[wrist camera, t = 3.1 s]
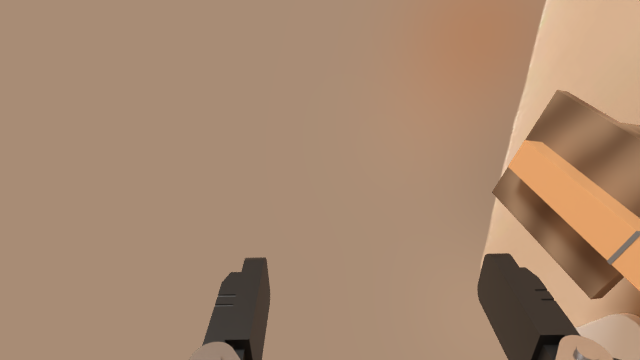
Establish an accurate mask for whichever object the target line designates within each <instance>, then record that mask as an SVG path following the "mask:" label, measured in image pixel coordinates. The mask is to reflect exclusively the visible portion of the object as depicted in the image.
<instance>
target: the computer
mask: <svg viewBox="0 0 640 360" xmlns="http://www.w3.org/2000/svg"><path fill="white" fill-rule="evenodd" d="M576 330H577V331H578V333H579V334H580V335H581V336H583V337H586V338H589V339H591V340H593V341H595V342H596V343H598V344H599V345H601V346H602V347H603V348H605V349H606V350H607V351H608V352H609V354H610V355H611V356H612V357H613V358H616V359H620V360H640V317H638V316H636V315H633V314H629V313H620V314H612V315H609V316H606V317H603V318H601V319H598V320H595V321H593V322H590V323H587V324H585V325H582V326H579V327H577V328H576Z"/></svg>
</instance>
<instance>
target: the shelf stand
mask: <svg viewBox="0 0 640 360" xmlns="http://www.w3.org/2000/svg"><path fill="white" fill-rule="evenodd" d="M526 140H528V141H537V142H543V143H544V144H545V145H546V146H548V147H549V148H550V149H552V150H553V151H554V152H555V153H557V154H558V155H559V156H561V157H562V158H563V159H564V160H566V161H567V162H568V163H570V164H571V165H572V166H573V167H575V168H576V169H577V170H578V171H580V172H581V173H582V174H584V175H585V176H586V177H587V178H589V179H590V180H591V181H593V182H594V183H595V184H596V185H598V186H599V187H600V188H602V189H603V190H604V191H605V192H607V193H608V194H609V195H610V196H612V197H613V198H614V199H616V200H617V201H618V202H619V203H621V204H622V205H623V206H625V207H626V208H627V209H628V210H630V211H631V212H632V213H634V214H635V215H636V216H637V217H639V218H640V125H633V124H626V123H620V122H618V121H616V120H615V119H613V118H611V117H610V116H608V115H606V114H604V113H603V112H601V111H599V110H598V109H596V108H594V107H593V106H591V105H589V104H587V103H586V102H584V101H582V100H581V99H579V98H577V97H576V96H574V95H572V94H570V93H569V92H566V91H561V90H557V91H556V93H555V94H554V96H553V97H552V99H551V100H550V102H549V104H548V105H547V107H546V108H545V110H544V111H543V113H542V115H541V116H540V118H539V119H538V121H537V122H536V124H535V126H534V127H533V129H532V130H531V132H530V133H529V135H528V137H527V138H526ZM492 193H493V194H494V195H495V196H496V197H497V198H498V199H499V200H500V202H501V203H502V204H503V205H504V206H505V207H506V208H507V209H508V210H509V211H510V212H511V213H512V214H513V216H514V217H515V218H516V219H517V220H518V221H519V222H520V223H521V224H522V225H523V226H524V227H525V229H526V230H527V231H528V232H529V233H530V234H531V235H532V236H533V237H534V238H535V239H536V240H537V241H538V243H539V244H540V245H541V246H542V247H543V248H544V249H545V250H546V251H547V252H548V253H549V254H550V256H551V257H552V258H553V259H554V260H555V261H556V262H557V263H558V264H559V265H560V266H561V267H562V268H563V270H564V271H565V272H566V273H567V274H568V275H569V276H570V277H571V278H572V279H573V280H574V281H575V283H576V284H577V285H578V286H579V287H580V288H581V289H582V290H583V291H584V292H585V293H586V294H587V295H588V297H589V298H590V299H597V298H602V297H603V296H604V295H606V294H607V293H608V292H609V291H610V290H611V289H612V288H613V287H614V286H615V285H616V284H617V283H618V282H619V281H620V280H621V279H622V278H623V277H624V276H623V275H622V274H621V273H620V272H619V271H618V270H617V269H616V268H615V267H613V266H612V265H610V264H609V263H608V262H607V260H606V259H605V258H604V257H603V256H602V255H601V254H600V253H599V252H598V251H597V250H595V249H594V248H593V247H592V246H591V245H590V244H589V243H588V242H587V241H586V240H585V239H584V238H583V237H582V236H581V235H580V234H579V233H578V232H576V231H575V230H574V229H573V228H572V227H571V226H570V225H569V224H568V223H567V222H566V221H565V220H564V219H563V218H562V217H561V216H560V215H558V214H557V213H556V212H555V211H554V210H553V209H552V208H551V207H550V206H549V205H548V204H547V203H546V202H545V201H544V200H543V199H542V198H541V197H539V196H538V195H537V194H536V193H535V192H534V191H533V190H532V189H531V188H530V187H529V186H528V185H527V184H526V183H525V182H524V181H523V180H522V179H520V178H519V177H518V176H517V175H516V174H515V173H514V172H513V171H512V170H511V169H510V168H509V167H508V168H507V169H506V171H505V173H504V174H503V176H502V177H501V179H500V180H499V182H498V184H497V185H496V187H495V188H494V190H493V192H492Z"/></svg>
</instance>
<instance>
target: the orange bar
mask: <svg viewBox="0 0 640 360" xmlns="http://www.w3.org/2000/svg"><path fill="white" fill-rule="evenodd" d="M508 167H509V168H510V169H511V170H512V171H513V172H514V173H515V174H516V175H517V176H518V177H519V178H520V179H522V180H523V181H524V182H525V183H526V184H527V185H528V186H529V187H530V188H531V189H532V190H533V191H534V192H535V193H536V194H537V195H538V196H539V197H541V198H542V199H543V200H544V201H545V202H546V203H547V204H548V205H549V206H550V207H551V208H552V209H553V210H554V211H555V212H556V213H557V214H558V215H560V216H561V217H562V218H563V219H564V220H565V221H566V222H567V223H568V224H569V225H570V226H571V227H572V228H573V229H574V230H575V231H576V232H578V233H579V234H580V235H581V236H582V237H583V238H584V239H585V240H586V241H587V242H588V243H589V244H590V245H591V246H592V247H593V248H594V249H595V250H597V251H598V252H599V253H600V254H601V255H602V256H603V257H604V258H605V259H606V260H607V262H608V263H609V264H610V265H612V266H613V267H615V268H616V269H617V270H618V271H619V272H620V273H621V274H622V275H623V276H624V277H625V278H626V279H627V280H628V281H629V282H630V283H631V284H632V285H634V286H635V287H636V288H637V289H638V290H639V291H640V218H639V217H637V216H636V215H635V214H634V213H632V212H631V211H630V210H628V209H627V208H626V207H625V206H623V205H622V204H621V203H619V202H618V201H617V200H616V199H614V198H613V197H612V196H610V195H609V194H608V193H607V192H605V191H604V190H603V189H602V188H600V187H599V186H598V185H596V184H595V183H594V182H593V181H591V180H590V179H589V178H587V177H586V176H585V175H584V174H582V173H581V172H580V171H578V170H577V169H576V168H575V167H573V166H572V165H571V164H570V163H568V162H567V161H566V160H564V159H563V158H562V157H561V156H559V155H558V154H557V153H555V152H554V151H553V150H552V149H550V148H549V147H548V146H546V145H545V144H544V143H543V142H537V141H528V140H525V141H524V142H523V144H522V145H521V147H520V148H519V150H518V152H517V153H516V155H515V156H514V158H513V159H512V161H511V162H510V164H509V166H508Z"/></svg>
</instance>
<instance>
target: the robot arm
mask: <svg viewBox="0 0 640 360" xmlns="http://www.w3.org/2000/svg"><path fill="white" fill-rule="evenodd" d="M478 297H479V301H480V303H481V305H482V307H483V309H484V311H485V313H486V315H487V317H488V319H489V321H490V324H491V325H492V328H493V329H494V332H495V334H496V336H497V338H498V340H499V342H500V344H501V346H502V348H503V350H504V352H505V354H506V356H507V358H508V360H620V359H616V358H613V357H612V356H611V355H610V354H609V352H608V351H607V350H606V349H605V348H603V347H602V346H601V345H599V344H598V343H596V342H595V341H593V340H591V339H589V338H586V337H583V336H581V335H580V334H579V333H578V331H577V330H576V328H575V327H574V326H573V324H572V323H571V322H570V320H569V319H568V317H567V316H566V315H565V313H564V312H563V311H562V309H561V308H560V306H559V305H558V304H557V302H556V301H554V298H553V297H552V295H551V294H550V293H549V291H547V289H546V287H545V286H544V284H543V283H542V282H541V280H540V279H539V278H538V277H537V276H536V275H535V274H533V273H532V272H531V271H529V270H528V269H527V268H519V266H518V265H517V263H516V262H515V260H514V259H513V257H512V256H511V255H510V254H508V253H505V254H486V255H485V257H484V261H483V265H482V269H481V274H480V278H479V282H478ZM269 305H270V286H269V277H268V269H267V260H266V258H246V259H245V261H244V264H243V268H242V272H231V273H230V274H229V275H228V276H227V277H226V279H225V280H224V281H223V282H222V284H221V287H220V290H219V294H218V297H217V300H216V304H215V307H214V310H213V313H212V316H211V320H210V323H209V326H208V329H207V333H206V336H205V339H204V342H203V345H202V346H201V347H200V348H198V349H197V350H196V351H195V352H194V353H193V354H192V356H191V357H190V359H189V360H262V353H263V346H264V339H265V333H266V326H267V319H268V312H269Z"/></svg>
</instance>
